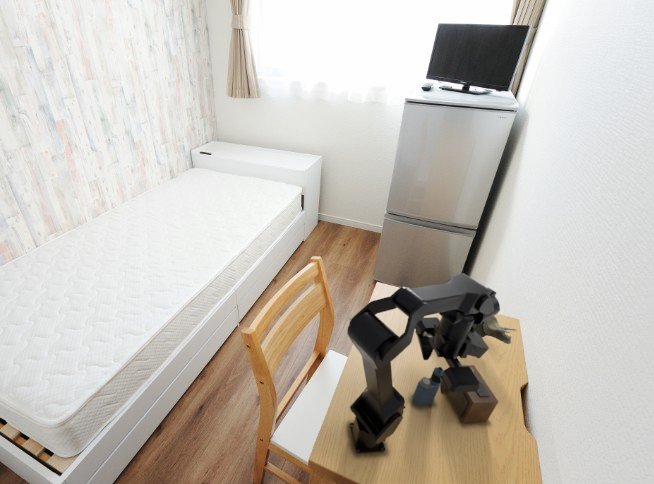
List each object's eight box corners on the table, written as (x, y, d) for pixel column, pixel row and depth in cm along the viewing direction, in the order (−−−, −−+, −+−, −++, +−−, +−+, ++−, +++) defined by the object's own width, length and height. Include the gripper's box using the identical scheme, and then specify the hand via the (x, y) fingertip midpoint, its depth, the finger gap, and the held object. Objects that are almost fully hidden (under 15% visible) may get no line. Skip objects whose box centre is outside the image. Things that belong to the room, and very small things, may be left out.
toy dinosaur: (421, 333, 106) (431, 305, 101) (425, 316, 113) (434, 289, 107) (501, 362, 98) (517, 334, 92) (501, 342, 104) (515, 314, 99)
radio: (461, 423, 82) (473, 400, 77) (441, 386, 90) (451, 363, 86) (486, 422, 82) (499, 399, 78) (464, 385, 91) (475, 362, 87)
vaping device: (434, 404, 86) (448, 372, 80) (415, 407, 85) (427, 375, 79) (429, 395, 88) (442, 363, 82) (410, 397, 87) (421, 366, 81)
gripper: (518, 363, 66) (490, 411, 74) (465, 297, 82) (447, 343, 90) (463, 365, 65) (440, 414, 73) (420, 298, 81) (406, 345, 89)
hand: (434, 375), depth 81 cm, fingers open, 9 cm apart
